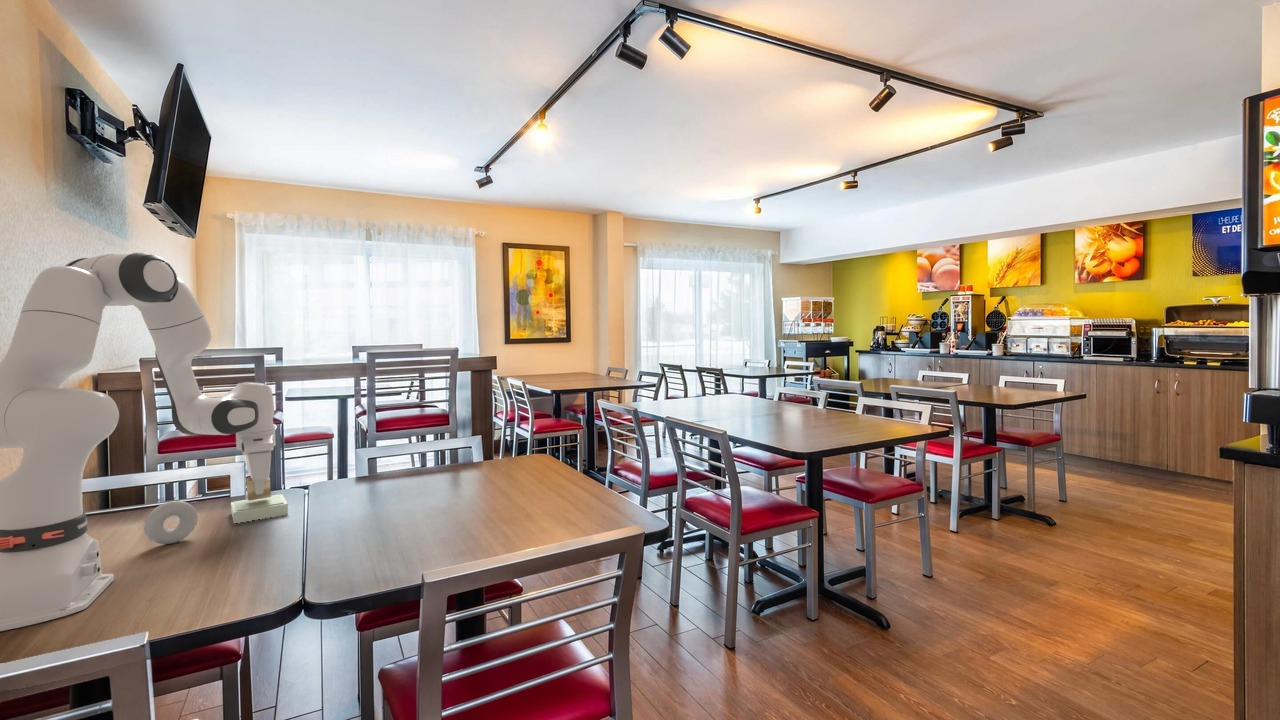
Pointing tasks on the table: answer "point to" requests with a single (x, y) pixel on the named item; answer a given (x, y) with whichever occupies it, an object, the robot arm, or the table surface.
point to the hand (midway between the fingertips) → (258, 491)
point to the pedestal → (259, 508)
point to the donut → (160, 513)
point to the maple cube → (251, 490)
